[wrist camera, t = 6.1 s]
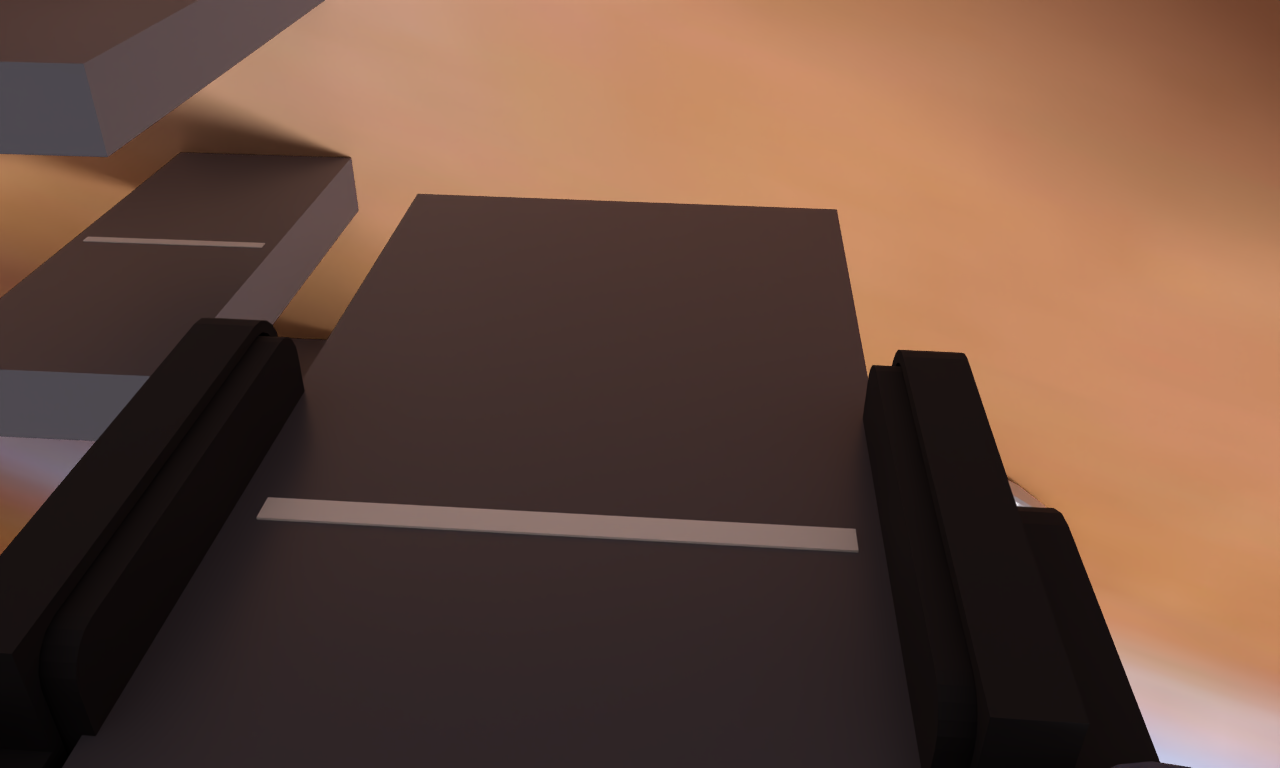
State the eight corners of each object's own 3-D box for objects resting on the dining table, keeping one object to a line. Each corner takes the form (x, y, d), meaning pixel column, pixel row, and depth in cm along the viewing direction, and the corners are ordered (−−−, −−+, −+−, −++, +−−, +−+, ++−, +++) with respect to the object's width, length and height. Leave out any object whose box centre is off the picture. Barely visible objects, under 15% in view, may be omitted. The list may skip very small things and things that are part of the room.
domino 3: (130, -72, 29) (-205, 55, 19) (319, -69, 28) (83, 62, 18) (145, -6, 30) (-168, 149, 19) (328, -2, 29) (107, 158, 19)
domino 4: (180, 151, 32) (-84, 365, 22) (351, 157, 32) (163, 376, 21) (192, 205, 33) (-57, 434, 23) (358, 210, 32) (182, 445, 22)
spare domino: (417, 192, 13) (-573, 1783, 3) (836, 207, 13) (1168, 2004, 3) (429, 312, 14) (-319, 1857, 4) (823, 329, 14) (1045, 2032, 4)
